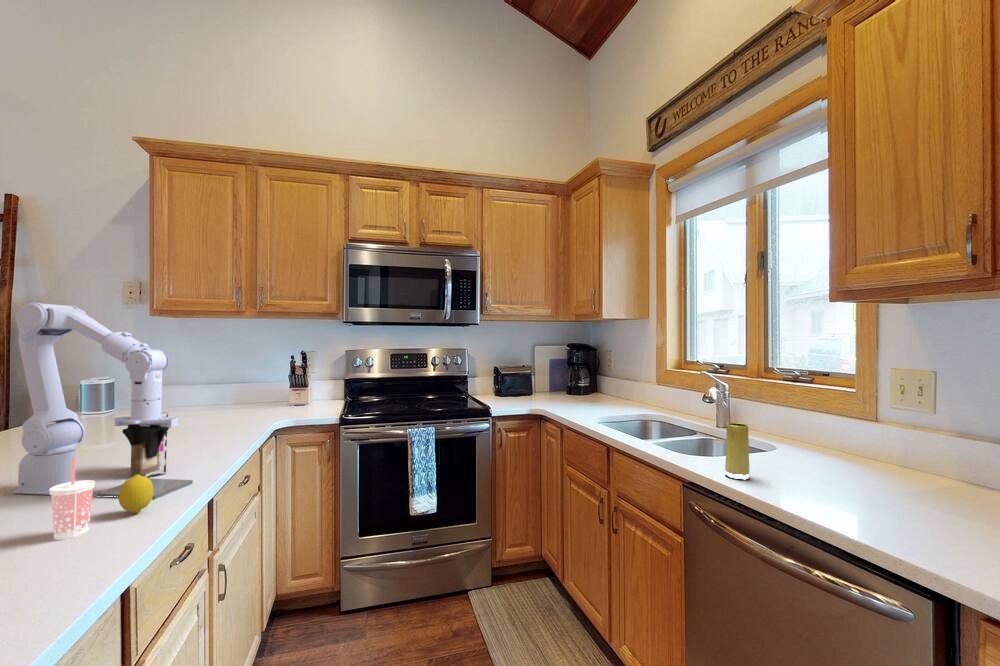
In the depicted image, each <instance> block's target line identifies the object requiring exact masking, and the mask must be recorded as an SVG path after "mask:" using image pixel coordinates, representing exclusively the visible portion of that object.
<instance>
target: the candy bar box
mask: <svg viewBox="0 0 1000 666" xmlns="http://www.w3.org/2000/svg"><path fill="white" fill-rule="evenodd" d="M162 416H163V417H168V416H169V412H166V411H163V410H162ZM148 424H151V423H148ZM167 442H168V431H167V432H166V434H165V435H164V437H163V439H162V441H161V443H160V446H159V470H157V471H154V472H151V473H148V474H145V475H142V476H145V477H147V478H152V477H157V476H162V475H166V474H167V450H168V449H167V447H168V445H167V444H168V443H167ZM151 476H152V477H151Z"/></svg>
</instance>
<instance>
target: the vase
mask: <svg viewBox="0 0 1000 666" xmlns="http://www.w3.org/2000/svg"><path fill="white" fill-rule="evenodd" d="M749 439H750V438H749V425H748V424H745V423H742V422H741V423H740V422H727V423H726V445H725V446H726V448H725V450H726V451H725V464H724V465H725V470H726V471H727V472H729V473H732V474H743V475H746V474H749V475H750V445H749V442H750V440H749ZM725 470H724V471H725Z"/></svg>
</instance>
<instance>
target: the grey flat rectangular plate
mask: <svg viewBox="0 0 1000 666" xmlns="http://www.w3.org/2000/svg"><path fill="white" fill-rule="evenodd" d="M148 478H149V479H150V480H151V482H152V485H153V489H154V494H153V498H152V500H156V499H158V497H159V498H160V497H163V495H164V496H166V495H169V494H171V493H173V492H176V491H178V490H180V489H182V488H185V487H187V486H190V485H192V484H193V482H194V481H193V480H192V479H172V478H152V477H148ZM123 484H124V483H122V484H120V485H117V486H114V487H111V488H108V489H106V490H103V491H100V492H96V497H97V496H113V497H114V496H116V497H117V496H118V497H119V493H120V489H121V487H122V485H123ZM170 492H171V493H170ZM165 494H166V495H165Z"/></svg>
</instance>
